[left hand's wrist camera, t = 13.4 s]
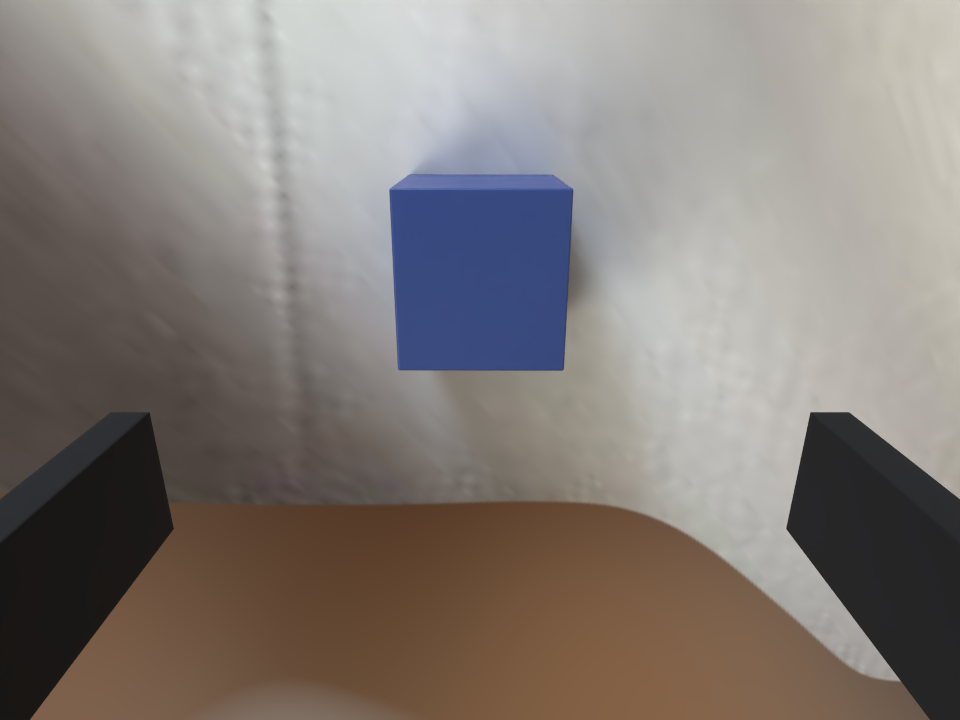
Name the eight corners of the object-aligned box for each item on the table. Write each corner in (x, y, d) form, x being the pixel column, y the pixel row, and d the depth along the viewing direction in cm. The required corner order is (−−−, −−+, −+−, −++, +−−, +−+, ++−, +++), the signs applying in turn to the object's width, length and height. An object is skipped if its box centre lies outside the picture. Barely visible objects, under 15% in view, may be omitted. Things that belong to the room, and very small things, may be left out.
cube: (553, 174, 32) (573, 188, 26) (547, 323, 35) (563, 371, 28) (408, 174, 32) (389, 188, 26) (413, 322, 35) (398, 370, 28)
